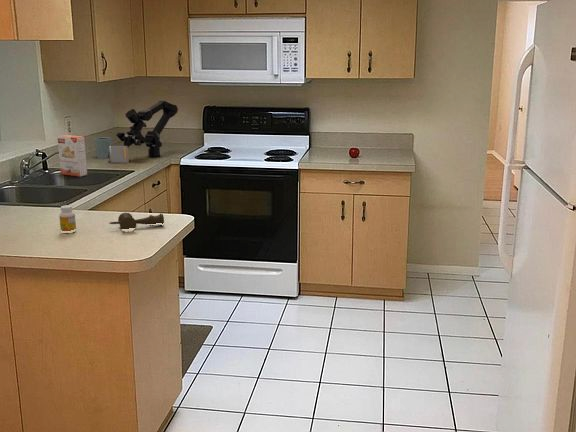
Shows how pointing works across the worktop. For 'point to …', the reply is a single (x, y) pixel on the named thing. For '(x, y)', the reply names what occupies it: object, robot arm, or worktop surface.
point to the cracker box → (72, 155)
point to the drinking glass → (102, 147)
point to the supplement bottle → (67, 218)
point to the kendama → (129, 222)
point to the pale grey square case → (119, 154)
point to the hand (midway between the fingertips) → (124, 148)
